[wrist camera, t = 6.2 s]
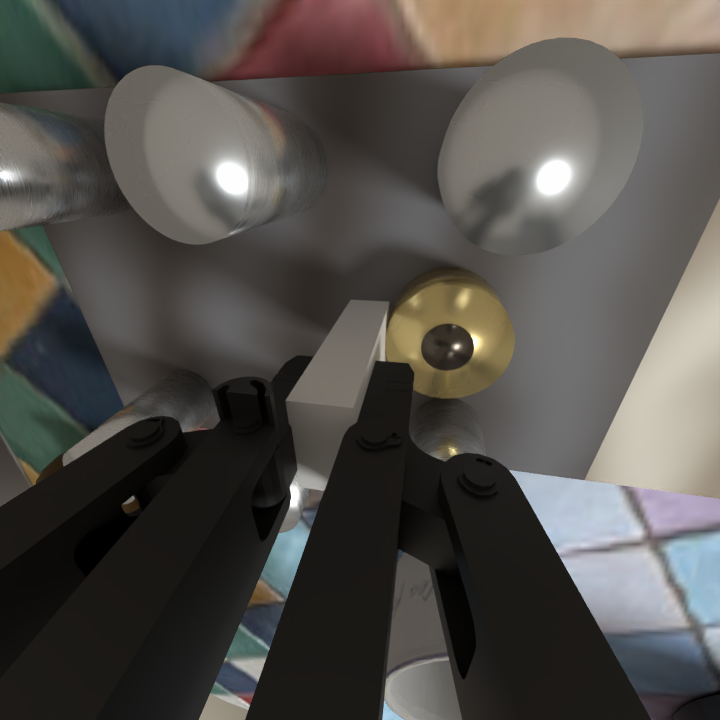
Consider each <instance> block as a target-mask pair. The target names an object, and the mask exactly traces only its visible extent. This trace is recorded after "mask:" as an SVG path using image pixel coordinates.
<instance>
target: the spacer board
mask: <svg viewBox="0 0 720 720" xmlns="http://www.w3.org/2000/svg"><path fill="white" fill-rule="evenodd" d="M620 60H621V61H623V62H624V64H625V65H626V67H627V68H628V69H629V71H630V72H631V74H632V75H633V78H634V80H635V82H636V84H637V86H638V89H639V93H640V97H641V100H642V109H643V133H642V139H641V145H640V149H639V152H638V156H637V159H636V162H635V165H634V167H633V170H632V172H631V174H630V176H629V178H628V180H627V182H626V184H625V186H624V187H623V189H622V191H621V192H620V194H619V195H618V197H617V198H616V199H615V201H614V202H613V203H612V205H611V206H610V207H609V208H608V209H607V211H606V212H605V213H604V214H603V215H602V216H601V217H600V218H599V219H598V220H597V221H596V222H595V223H594V224H592V225H591V226H590V227H589V228H587V229H586V230H585V231H584V232H582V233H581V234H579V235H578V236H576V237H575V238H573V239H572V240H570V241H568V242H566V243H564V244H562V245H560V246H558V247H555V248H553V249H550V250H548V251H544V252H540V253H537V254H530V255H523V256H510V255H501V254H497V253H493V252H489V251H487V250H484V249H482V248H480V247H478V246H476V245H475V244H473V243H472V242H470V241H469V240H468V239H466V238H465V237H464V236H463V235H462V234H461V233H460V232H459V231H458V230H457V228H456V227H455V226H454V224H453V223H452V221H451V220H450V218H449V216H448V214H447V212H446V209H445V206H444V204H443V201H442V197H441V193H440V190H439V186H438V181H437V161H438V156H439V153H440V149H441V146H442V143H443V140H444V137H445V134H446V132H447V129H448V127H449V124H450V121H451V119H452V118H453V116H454V114H455V112H456V110H457V108H458V106H459V105H460V103H461V102H462V100H463V99H464V97H465V95H466V94H467V93H468V92H469V90H470V89H471V88H472V87H473V85H474V84H475V83H476V82H477V81H478V80H479V79H480V78H481V77H482V76H483V75H484V74H485V73H486V72H487V71H488V70H489V69H490V68H492V67H493V66H481V67H463V68H445V69H427V70H409V71H392V72H374V73H356V74H338V75H320V76H302V77H284V78H266V79H248V80H231V81H213V82H210V83H213V84H215V85H218V86H221V87H223V88H226V89H228V90H231V91H234V92H236V93H239V94H241V95H244V96H247V97H249V98H252V99H254V100H257V101H260V102H262V103H265V104H267V105H270V106H272V107H275V108H278V109H280V110H283V111H285V112H288V113H291V114H293V115H296V116H298V117H300V118H301V119H303V120H304V121H306V122H307V123H308V124H309V125H310V126H311V127H312V128H313V129H314V131H315V132H316V133H317V135H318V136H319V138H320V140H321V142H322V144H323V147H324V150H325V153H326V157H327V165H328V174H327V181H326V185H325V188H324V191H323V193H322V195H321V197H320V198H319V200H318V201H317V202H316V203H315V204H314V205H313V206H312V207H311V208H310V209H308V210H306V211H304V212H302V213H299V214H296V215H293V216H290V217H287V218H284V219H281V220H278V221H275V222H272V223H269V224H266V225H263V226H260V227H257V228H254V229H251V230H248V231H245V232H242V233H239V234H236V235H233V236H230V237H227V238H224V239H221V240H218V241H215V242H212V243H207V244H200V245H193V244H186V243H182V242H178V241H176V240H173V239H170V238H169V237H167V236H165V235H163V234H161V233H160V232H158V231H157V230H155V229H154V228H153V227H151V226H150V225H149V224H148V223H147V222H146V221H145V220H144V219H143V218H142V217H141V216H140V215H139V214H138V213H137V212H131V213H124V214H117V215H110V216H103V217H96V218H89V219H82V220H76V221H69V222H62V223H55V224H48V225H43V227H44V229H45V231H46V233H47V236H48V238H49V240H50V242H51V245H52V247H53V249H54V251H55V253H56V256H57V258H58V260H59V262H60V265H61V267H62V269H63V271H64V273H65V276H66V278H67V280H68V282H69V285H70V287H71V289H72V291H73V293H74V296H75V298H76V300H77V302H78V305H79V307H80V309H81V311H82V313H83V316H84V318H85V320H86V322H87V325H88V327H89V329H90V331H91V334H92V336H93V338H94V340H95V342H96V345H97V347H98V349H99V351H100V354H101V356H102V358H103V360H104V362H105V365H106V367H107V369H108V371H109V374H110V376H111V378H112V380H113V382H114V385H115V387H116V389H117V391H118V394H119V396H120V398H121V400H122V402H123V405H124V407H125V406H127V405H128V404H129V403H130V402H132V401H133V400H134V399H136V398H137V397H138V396H140V395H141V394H142V393H143V392H145V391H146V390H147V389H149V388H150V387H151V386H153V385H154V384H155V383H156V382H158V381H159V380H160V379H162V378H163V377H164V376H166V375H167V374H168V373H170V372H171V371H173V370H178V369H183V370H188V371H191V372H194V373H196V374H198V375H199V376H201V377H202V378H204V379H205V380H206V381H207V382H208V383H209V384H210V385H211V387H212V388H213V389H214V388H215V387H217V386H218V385H219V384H221V383H224V382H226V381H228V380H231V379H235V378H239V377H254V376H255V377H259V378H263V379H265V380H267V381H268V382H272V379H273V378H274V377H275V375H276V374H278V371H279V370H280V369H281V368H282V366H283V365H284V364H285V363H286V362H287V361H289V360H290V359H292V358H294V357H295V356H297V355H302V356H315V354H316V353H317V351H318V350H319V348H320V346H321V345H322V343H323V342H324V340H325V339H326V337H327V336H328V334H329V333H330V331H331V329H332V328H333V326H334V325H335V323H336V322H337V320H338V319H339V317H340V316H341V314H342V312H343V311H344V309H345V308H346V306H347V305H348V303H349V302H350V300H368V301H388V302H390V304H389V321H390V318H391V315H392V311H393V308H394V305H395V302H396V300H397V298H398V296H399V294H400V293H401V291H402V290H403V289H404V288H405V286H406V285H407V284H408V283H410V282H411V281H412V280H413V279H415V278H416V277H418V276H419V275H421V274H423V273H425V272H428V271H431V270H434V269H439V268H449V267H451V268H460V269H465V270H468V271H471V272H473V273H475V274H477V275H479V276H481V277H482V278H483V279H485V280H486V281H487V282H488V283H489V284H490V285H491V286H492V287H493V289H494V290H495V292H496V293H497V295H498V297H499V299H500V301H501V303H502V305H503V307H504V309H505V311H506V313H507V315H508V317H509V319H510V321H511V323H512V326H513V330H514V335H515V345H514V351H513V355H512V358H511V360H510V363H509V365H508V366H507V368H506V370H505V371H504V372H503V374H502V375H501V376H500V377H499V378H498V379H497V380H496V381H495V382H494V383H492V384H491V385H490V386H488V387H487V388H485V389H483V390H481V391H479V392H477V393H475V394H472V395H469V396H465V397H460V398H455V399H459V400H461V401H464V402H465V403H467V404H469V405H470V406H471V407H472V408H473V409H474V410H475V411H476V413H477V414H478V417H479V420H480V425H481V431H482V436H483V442H484V447H485V453H486V456H487V457H490V458H492V459H495V460H496V461H498V462H499V463H501V464H502V465H503V466H505V467H506V468H507V469H508V470H514V471H521V472H529V473H536V474H543V475H551V476H558V477H565V478H573V479H580V480H587V481H594V482H602V483H609V484H616V485H624V486H631V487H638V488H646V489H653V490H660V491H668V492H675V493H682V494H689V495H697V496H704V497H711V498H719V499H720V53H714V54H696V55H678V56H660V57H642V58H624V59H620ZM114 88H115V87H105V88H87V89H69V90H52V91H34V92H16V93H0V103H7V104H13V105H20V106H26V107H33V108H39V109H46V110H52V111H59V112H66V113H72V114H79V115H85V116H92V117H98V118H105V114H106V108H107V105H108V101H109V98H110V96H111V94H112V92H113V90H114ZM435 398H436V397H431V396H427V395H424V394H421V393H419V392H417V391H415V390H413V399H412V411H411V422H410V433H409V434H410V437H411V436H412V424H413V417H414V414H415V412H416V410H417V409H418V408H419V407H420V406H421V405H422V404H424V403H425V402H427V401H429V400H432V399H435ZM219 421H220V418H219V414H218V411H217V407H216V409H215V411H214V412H213V413H212V414H211V415H210V416H209V417H208V419H207V420H206V421H205V422H204V423H203V424H202V425H201V426H200V428H207V429H213V428H214V427H215V426H216V425H217V424H218V423H219Z"/></svg>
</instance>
